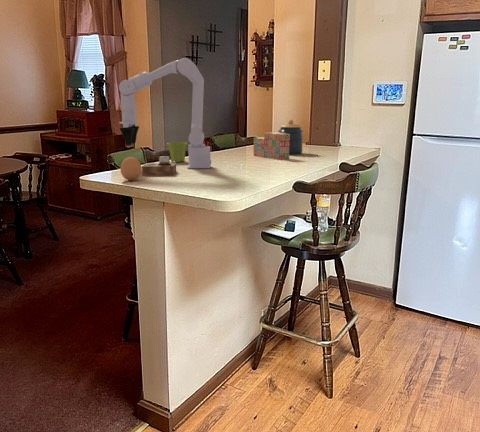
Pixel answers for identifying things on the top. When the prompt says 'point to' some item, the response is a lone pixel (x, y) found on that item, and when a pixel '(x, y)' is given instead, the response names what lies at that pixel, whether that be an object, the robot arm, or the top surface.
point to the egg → (131, 168)
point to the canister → (293, 136)
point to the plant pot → (177, 151)
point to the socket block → (158, 169)
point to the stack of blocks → (272, 145)
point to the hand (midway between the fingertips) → (130, 144)
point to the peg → (164, 160)
